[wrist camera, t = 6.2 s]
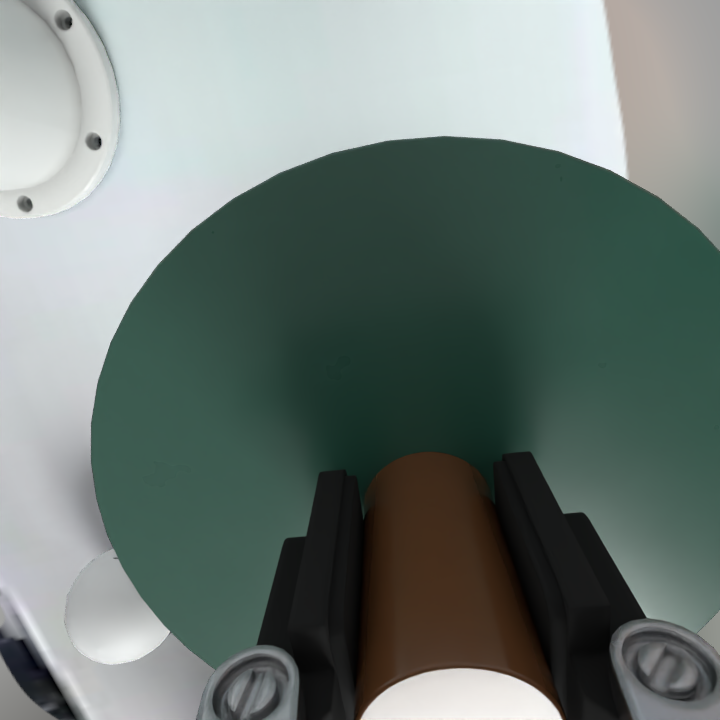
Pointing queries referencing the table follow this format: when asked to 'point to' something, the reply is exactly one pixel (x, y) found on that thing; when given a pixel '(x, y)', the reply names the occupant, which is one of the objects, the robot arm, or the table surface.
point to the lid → (418, 406)
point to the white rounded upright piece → (110, 614)
